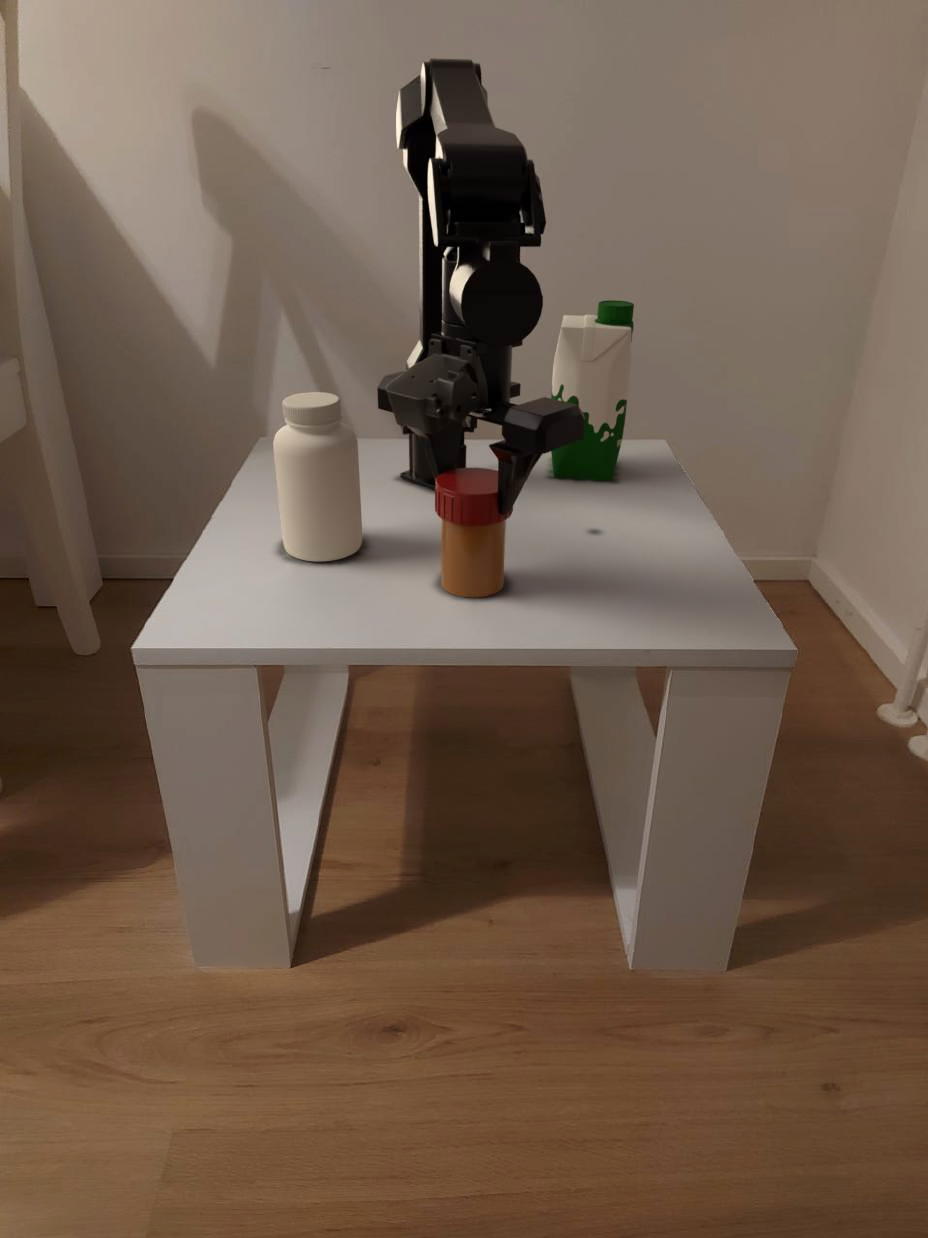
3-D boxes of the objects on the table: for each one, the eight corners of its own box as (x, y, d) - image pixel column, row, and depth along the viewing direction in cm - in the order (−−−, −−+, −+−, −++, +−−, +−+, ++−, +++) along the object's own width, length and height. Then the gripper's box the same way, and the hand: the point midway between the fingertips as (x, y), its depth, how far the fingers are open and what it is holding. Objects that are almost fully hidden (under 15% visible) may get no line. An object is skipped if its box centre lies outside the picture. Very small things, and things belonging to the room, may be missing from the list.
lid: (418, 511, 77) (418, 480, 76) (470, 491, 82) (471, 461, 80) (476, 533, 73) (477, 500, 72) (528, 511, 78) (529, 480, 76)
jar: (428, 583, 81) (427, 485, 76) (469, 564, 84) (471, 469, 80) (474, 604, 77) (477, 502, 73) (516, 583, 81) (520, 485, 76)
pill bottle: (267, 556, 85) (251, 404, 78) (307, 526, 92) (296, 384, 85) (340, 569, 83) (330, 414, 76) (376, 537, 90) (370, 392, 82)
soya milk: (619, 484, 104) (638, 310, 95) (544, 479, 105) (555, 307, 96) (618, 461, 112) (636, 297, 102) (548, 456, 113) (559, 294, 103)
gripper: (324, 317, 70) (335, 500, 77) (502, 354, 59) (494, 563, 66) (421, 301, 77) (423, 469, 84) (596, 331, 66) (580, 522, 74)
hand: (473, 503), depth 77 cm, fingers closed on lid, 7 cm apart
